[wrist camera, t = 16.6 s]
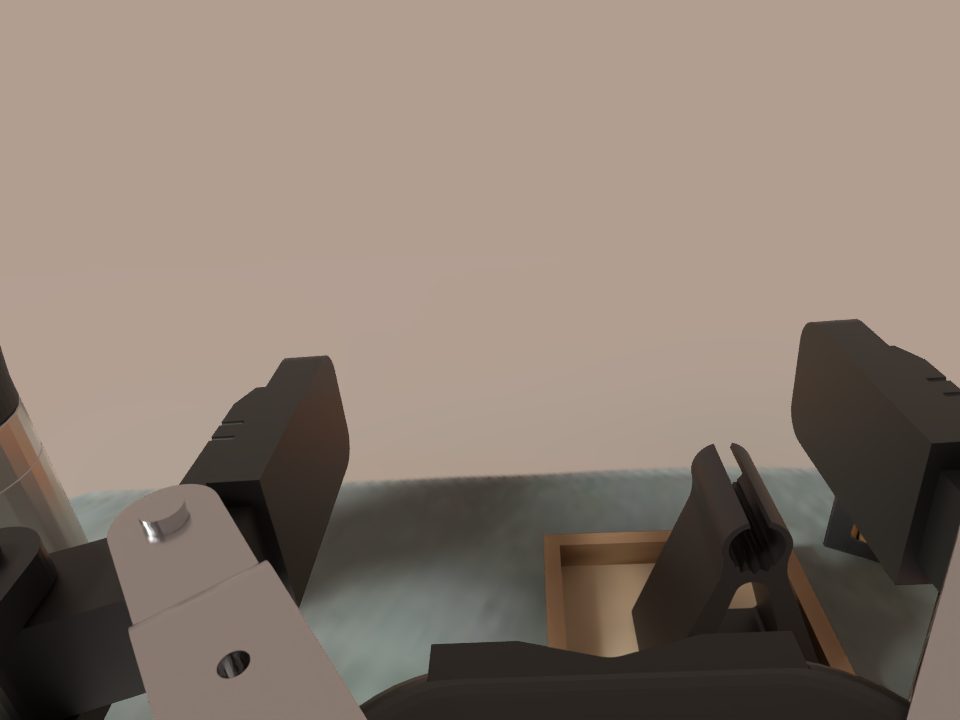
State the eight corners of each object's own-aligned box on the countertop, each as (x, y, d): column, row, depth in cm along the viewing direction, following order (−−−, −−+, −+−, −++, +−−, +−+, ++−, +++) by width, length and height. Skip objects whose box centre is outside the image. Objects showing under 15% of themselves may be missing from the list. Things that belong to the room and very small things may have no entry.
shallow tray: (555, 800, 32) (552, 761, 31) (545, 569, 45) (543, 534, 44) (886, 800, 31) (898, 760, 29) (776, 561, 44) (781, 526, 43)
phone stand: (647, 708, 35) (652, 527, 29) (631, 615, 40) (632, 447, 34) (831, 706, 34) (871, 519, 28) (789, 611, 39) (816, 438, 34)
